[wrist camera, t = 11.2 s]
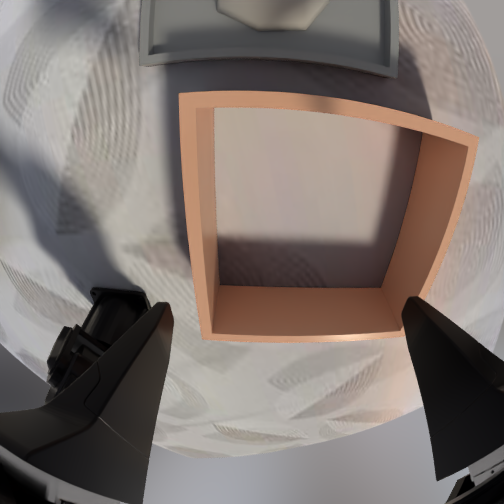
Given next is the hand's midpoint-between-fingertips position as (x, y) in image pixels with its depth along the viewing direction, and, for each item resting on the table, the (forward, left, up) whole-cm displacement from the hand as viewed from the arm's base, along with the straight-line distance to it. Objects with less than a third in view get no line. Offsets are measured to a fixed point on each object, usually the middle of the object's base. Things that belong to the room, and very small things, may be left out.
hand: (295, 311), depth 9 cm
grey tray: (-1, +16, -12) cm, 19 cm away
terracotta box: (+3, -1, -12) cm, 12 cm away
